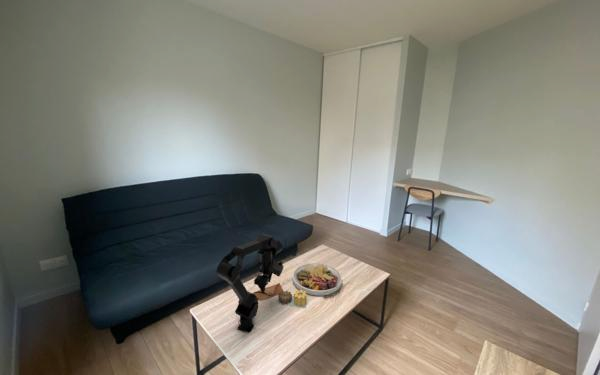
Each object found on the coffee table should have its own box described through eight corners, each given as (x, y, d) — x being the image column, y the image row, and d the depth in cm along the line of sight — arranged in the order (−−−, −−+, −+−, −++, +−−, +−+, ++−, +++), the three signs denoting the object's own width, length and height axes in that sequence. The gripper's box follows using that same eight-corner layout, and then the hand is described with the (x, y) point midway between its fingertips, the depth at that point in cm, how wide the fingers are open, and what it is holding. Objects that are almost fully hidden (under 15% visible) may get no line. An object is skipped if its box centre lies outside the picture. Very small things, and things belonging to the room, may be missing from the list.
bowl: (282, 280, 149) (282, 269, 148) (316, 264, 169) (316, 254, 167) (317, 306, 127) (317, 293, 126) (351, 285, 147) (352, 273, 145)
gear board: (305, 310, 124) (305, 300, 123) (276, 305, 127) (276, 296, 126) (307, 300, 132) (308, 291, 131) (280, 296, 135) (280, 287, 133)
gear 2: (292, 305, 126) (292, 297, 125) (295, 297, 132) (295, 289, 131) (305, 307, 124) (305, 299, 123) (307, 299, 131) (307, 291, 130)
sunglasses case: (258, 305, 126) (255, 292, 128) (253, 305, 132) (250, 292, 133) (287, 293, 137) (284, 281, 138) (281, 293, 142) (278, 282, 144)
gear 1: (290, 305, 126) (290, 299, 125) (276, 303, 127) (276, 296, 126) (293, 296, 133) (293, 290, 132) (280, 294, 134) (280, 288, 133)
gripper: (276, 271, 109) (276, 301, 112) (286, 252, 127) (286, 278, 130) (253, 268, 111) (253, 297, 114) (266, 250, 129) (266, 276, 132)
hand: (266, 287), depth 123 cm, fingers open, 9 cm apart
